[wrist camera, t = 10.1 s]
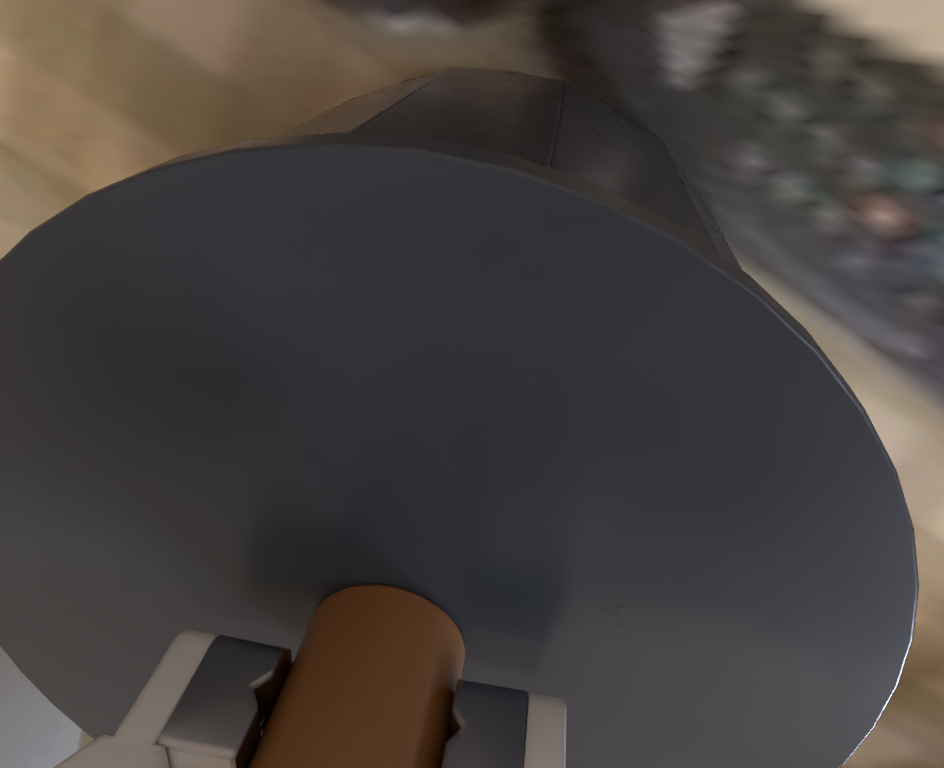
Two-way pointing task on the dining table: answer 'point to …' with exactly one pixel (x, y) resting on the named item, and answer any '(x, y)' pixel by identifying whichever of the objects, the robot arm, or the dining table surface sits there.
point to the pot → (532, 135)
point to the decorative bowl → (32, 724)
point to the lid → (439, 463)
